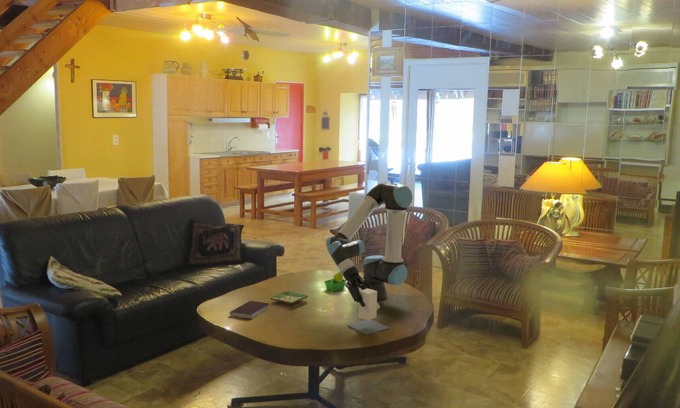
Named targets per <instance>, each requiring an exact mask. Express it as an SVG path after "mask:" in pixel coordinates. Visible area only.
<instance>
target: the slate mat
mask: <svg viewBox="0 0 680 408" xmlns="http://www.w3.org/2000/svg"><path fill="white" fill-rule="evenodd" d="M347 327H349V328H351V329H352V330H354V331H356V332H359V333H361V334H363V335H366V336H369V335H372V334H375V333H379V332H383V331H386V330H389V329H390V327H389V326H386V325H385V324H382V323H380V322H377V321H375V320H373V319H371V320H366V319H364V320H362V321H358V322H354V323H351V324H348V325H347Z"/></svg>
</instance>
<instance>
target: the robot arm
mask: <svg viewBox="0 0 680 408" xmlns="http://www.w3.org/2000/svg"><path fill="white" fill-rule="evenodd" d="M412 203H413V193H412V190H411V189H410V187H409V186H407V185H405V184H402V183H393V182H381V183H378V184H377V185H375V186H374V187H373V188H371V189H370V190H369V191H368V192H367V193H366V194H365V196H364V197H363V201H362V202H361V203H360V205H359V206H358V207H357V208H356V210H355V211H353V212H352V214H351V216H350V217H349V218H348V219H347V220H346V221H345V223H344V224H343V225H342V226H341V228H340V229H339V230H338V232H337V233H336V234H335V235H330V236H329V237H327V238H326V240H325V246H326V249H327V252H328V254H329V255H330V257H331V259H332V260H333V262H334V263H335V265H336V267H337V268H338V270H339V271H341V273H342V275H343V279H344V280H346V282H345V285H344V287H346V289H347V290H348V292H349V294H350V295H351V297H352V299H353V301H354V302H356V303H358V304H359V303H360V304H361V306H362V307H363V308H364V310H365V311H366V313H369V312H370V311H371V309H370V308H369V306H368V304H367V303H366V301H365V300H364V299H362V296H361V294H360V292H359V291H361V290H364V289H367V288H368V289H371V290H375V291H377V301H381V300H382V301H383V300H385V299H387V298H388V292H387V288H386V285H385V284H388V285H390V286H396V287H397V286H400V285H402V284H403V283H404V282H405V280H406V279H407V276H408V269H407V267H406V265H404V259H403V258H402V247H403V234H404V233H403V231H404V219H405V218H404V217H405V213H406V212H407V211H408V208H409V207H410V206H411V204H412ZM382 205H385V206H384V208H385V211H387V221H386V232H385V233H386V236H385V250H384V255H369V256H366V257H364V259H363V266H362V267H363V273H362V274H363V275H362V276H363V277H362V276H360V272H359V269H358V268H357V267H356V266H355V263H354V262H353V260H352V259H351V258H354V257H358V256H361V255H362V254H364V253H365V252H366V246H365V243H364V241H363V240H361V239H355V240H352V238H353V237H354V236H355V234H356V233H357V232H358V231H359V230H360V228H362V226H363V224H364V223H366V221H367V220H368V218H369V217H370V216H371V214H372V213H373V212H374V210H375V209H376V210H377V209H379V207H381V206H382ZM376 210H375V211H376ZM379 308H381V307H380V304H379V303H378V302H377V310H379Z"/></svg>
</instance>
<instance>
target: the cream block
mask: <svg viewBox="0 0 680 408" xmlns="http://www.w3.org/2000/svg"><path fill="white" fill-rule="evenodd" d="M359 292H360V294H361V296H362V299H364V300H365V301H366V303H367V304H368V306H369V308H370V309H371V311H370V312H369V313H366V311H365V310H364V308H363V307H362V306H361V304H360V303H359V302H358V318H360V319H362V320H373V319H376V318H377V310H378V309H377V303H378V300H377V291H375V290H371V289H368V288H367V289H364V290H361V289H360V291H359Z"/></svg>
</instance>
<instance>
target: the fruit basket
mask: <svg viewBox="0 0 680 408" xmlns="http://www.w3.org/2000/svg"><path fill="white" fill-rule="evenodd" d="M346 283H347V281H346V280H345V278H344V277H343V273H341V271H340V270H339V271H337V272H336V273H335V274H334V275H333V278H332V279H328V280H324V284H325V287H326V290H328V291H330V292H336V291H340V290H343V289H344V288H345V284H346Z"/></svg>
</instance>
